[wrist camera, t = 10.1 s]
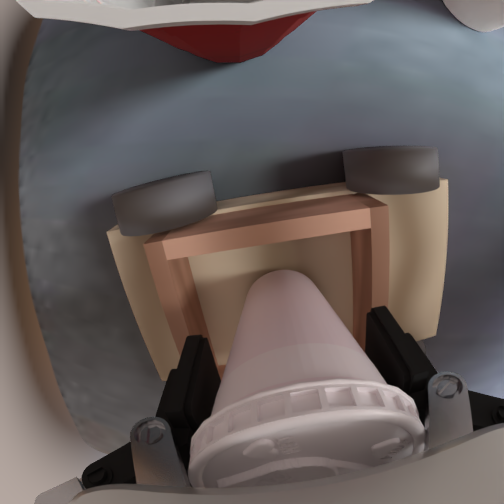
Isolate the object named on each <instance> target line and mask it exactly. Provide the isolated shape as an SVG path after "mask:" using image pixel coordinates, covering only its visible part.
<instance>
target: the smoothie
mask: <svg viewBox="0 0 504 504" xmlns="http://www.w3.org/2000/svg"><path fill="white" fill-rule="evenodd" d="M425 437H426V430H425V428H424V426H423V424H422V423H421V421H420V419H419V412H418V410H417V407H416V405H415V402H414V400H413V399H412V398H411V397H410V396H408V395H407V394H406V393H405V392H403V391H402V390H401V389H399V388H398V387H395V386H392V385H388V384H387V383H386V382H385V380H384V379H383V377H382V376H381V374H380V373H379V371H378V370H377V368H376V367H375V365H374V364H373V363H372V362H371V360H370V359H369V358H368V356H367V355H366V353H365V352H364V351H363V349H362V348H361V347H360V345H359V344H358V342H357V341H356V340H355V338H354V337H353V335H352V334H351V333H350V331H349V330H348V329H347V327H346V326H345V325H344V323H343V322H342V320H341V319H340V318H339V316H338V315H337V314H336V312H335V311H334V310H333V308H332V307H331V306H330V304H329V303H328V301H327V300H326V299H325V297H324V296H323V295H322V293H321V292H320V291H319V289H318V288H317V287H316V285H315V284H314V283H313V281H312V280H311V279H309V278H308V277H307V276H305V275H304V274H302V273H300V272H297V271H293V270H277V271H273V272H270V273H267V274H265V275H263V276H262V277H260V278H259V279H258V280H256V281H255V282H254V284H253V285H252V286H251V288H250V289H249V291H248V294H247V297H246V300H245V303H244V307H243V310H242V314H241V317H240V320H239V324H238V327H237V330H236V334H235V337H234V340H233V344H232V347H231V350H230V354H229V357H228V360H227V364H226V367H225V370H224V374H223V377H222V380H221V384H220V387H219V390H218V392H217V395H216V399H215V402H214V406H213V410H212V413H211V416H210V417H209V418H207V419H206V420H205V421H203V423H202V424H201V425H200V427H199V428H198V430H197V431H196V432H195V434H194V435H193V436H192V439H191V446H190V462H189V468H188V478H189V481H190V483H191V485H192V487H199V488H234V487H255V486H268V485H279V484H288V483H296V482H303V481H310V480H316V479H322V478H328V477H333V476H338V475H343V474H347V473H352V472H356V471H360V470H364V469H368V468H372V467H376V466H379V465H383V464H386V463H390V462H393V461H396V460H400V459H403V458H406V457H409V456H412V455H415V454H417V453H420V452H423V451H424V440H425Z"/></svg>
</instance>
